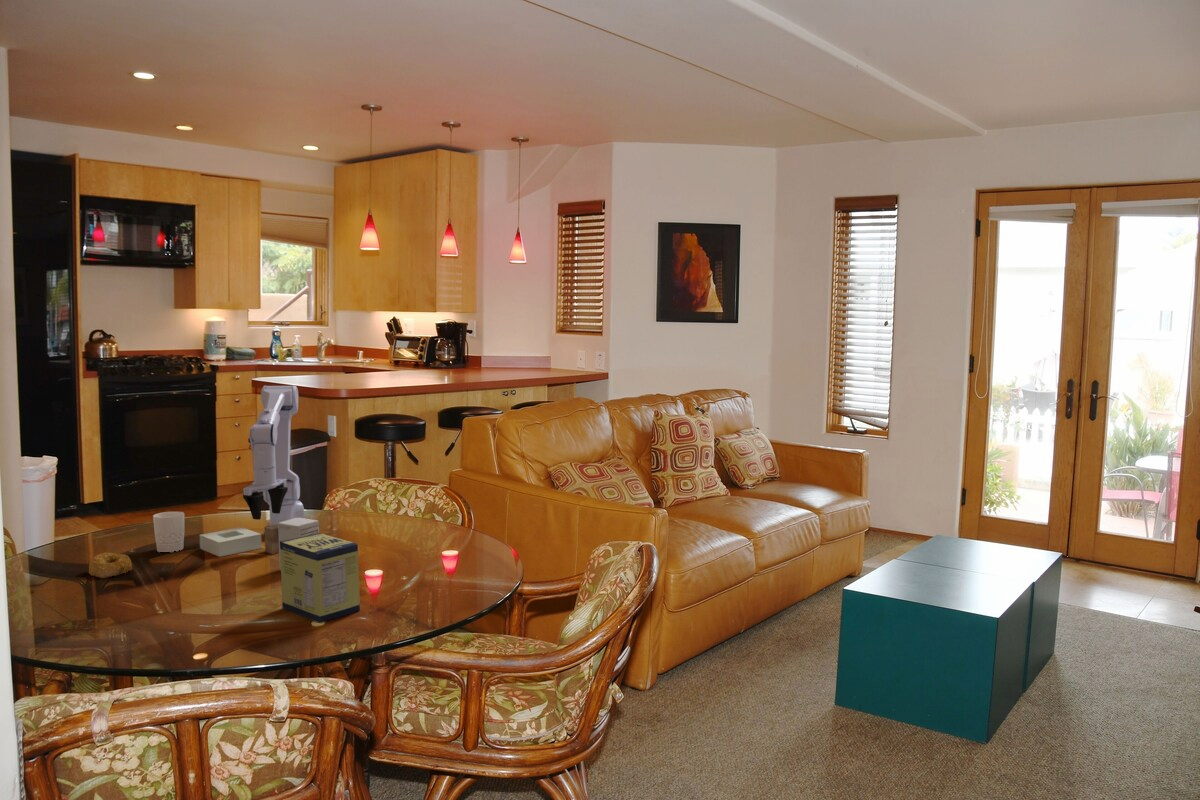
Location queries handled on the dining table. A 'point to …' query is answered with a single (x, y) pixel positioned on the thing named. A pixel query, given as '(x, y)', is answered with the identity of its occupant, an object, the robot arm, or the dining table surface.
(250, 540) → the socket block
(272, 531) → the peg
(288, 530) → the supplement box
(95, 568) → the bagel
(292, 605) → the protein box
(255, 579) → the dining table surface
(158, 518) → the white cup
